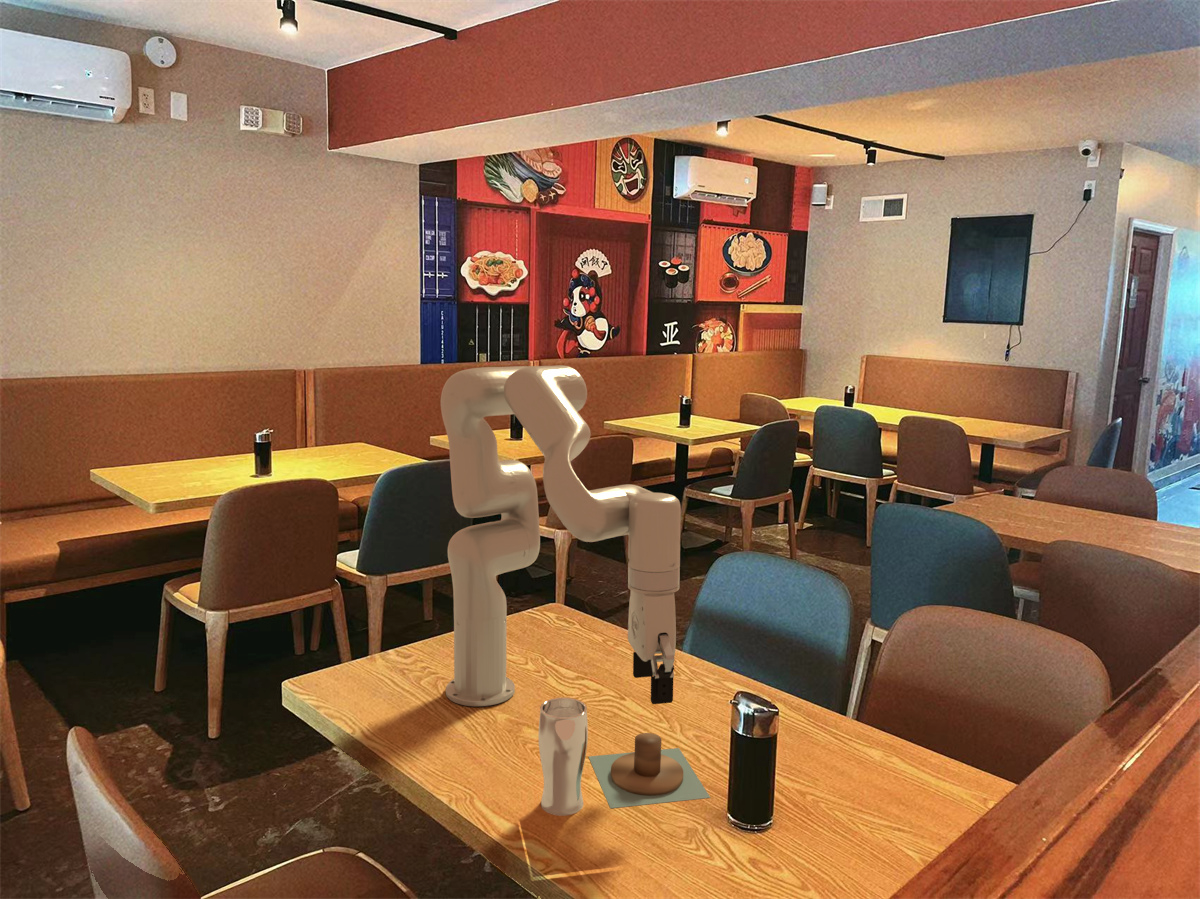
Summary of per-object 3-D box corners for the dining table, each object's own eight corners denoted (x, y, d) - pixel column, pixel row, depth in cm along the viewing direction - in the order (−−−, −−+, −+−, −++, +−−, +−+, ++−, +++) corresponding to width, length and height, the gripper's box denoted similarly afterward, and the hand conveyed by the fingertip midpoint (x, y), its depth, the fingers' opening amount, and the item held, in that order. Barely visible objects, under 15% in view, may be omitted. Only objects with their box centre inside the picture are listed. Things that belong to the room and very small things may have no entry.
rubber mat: (588, 758, 141) (588, 756, 141) (678, 750, 144) (678, 747, 144) (610, 810, 126) (610, 808, 126) (710, 800, 130) (710, 797, 130)
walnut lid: (603, 761, 139) (604, 725, 138) (670, 755, 142) (672, 719, 141) (620, 799, 129) (622, 760, 128) (693, 791, 131) (694, 753, 130)
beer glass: (580, 822, 123) (582, 721, 121) (532, 816, 125) (532, 715, 122) (591, 796, 130) (592, 699, 128) (544, 790, 131) (546, 694, 129)
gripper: (614, 563, 138) (614, 669, 140) (645, 597, 121) (643, 716, 123) (661, 561, 139) (659, 665, 142) (697, 593, 123) (695, 711, 125)
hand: (652, 689), depth 132 cm, fingers open, 9 cm apart
